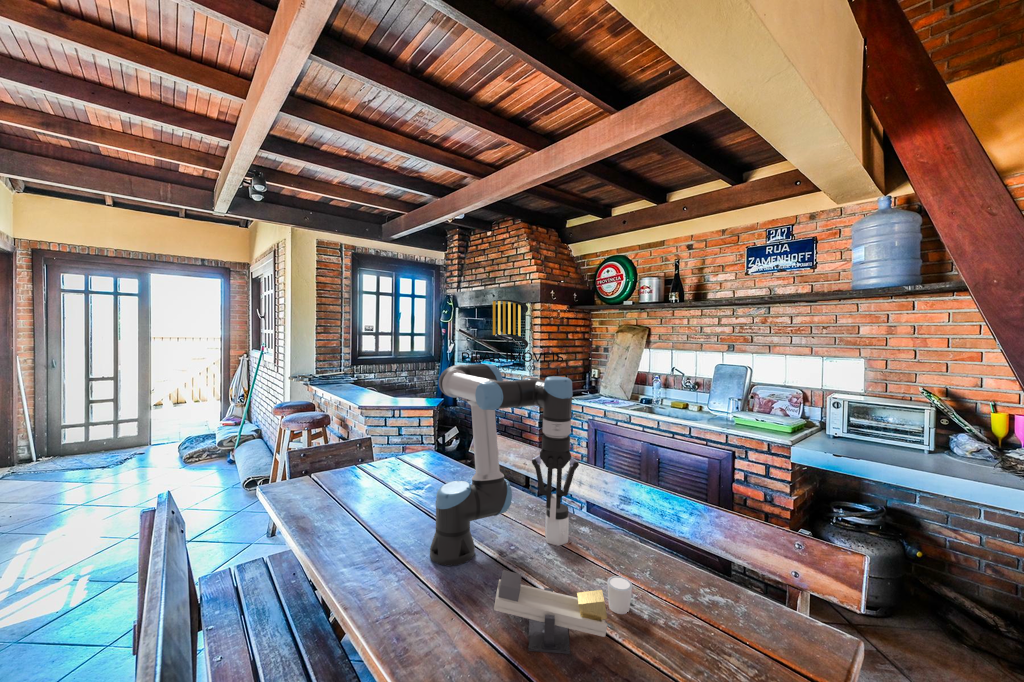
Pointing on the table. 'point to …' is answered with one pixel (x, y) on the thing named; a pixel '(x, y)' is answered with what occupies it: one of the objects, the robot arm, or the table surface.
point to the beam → (542, 605)
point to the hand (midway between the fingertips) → (552, 519)
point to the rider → (592, 605)
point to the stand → (548, 635)
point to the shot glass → (619, 594)
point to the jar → (557, 526)
